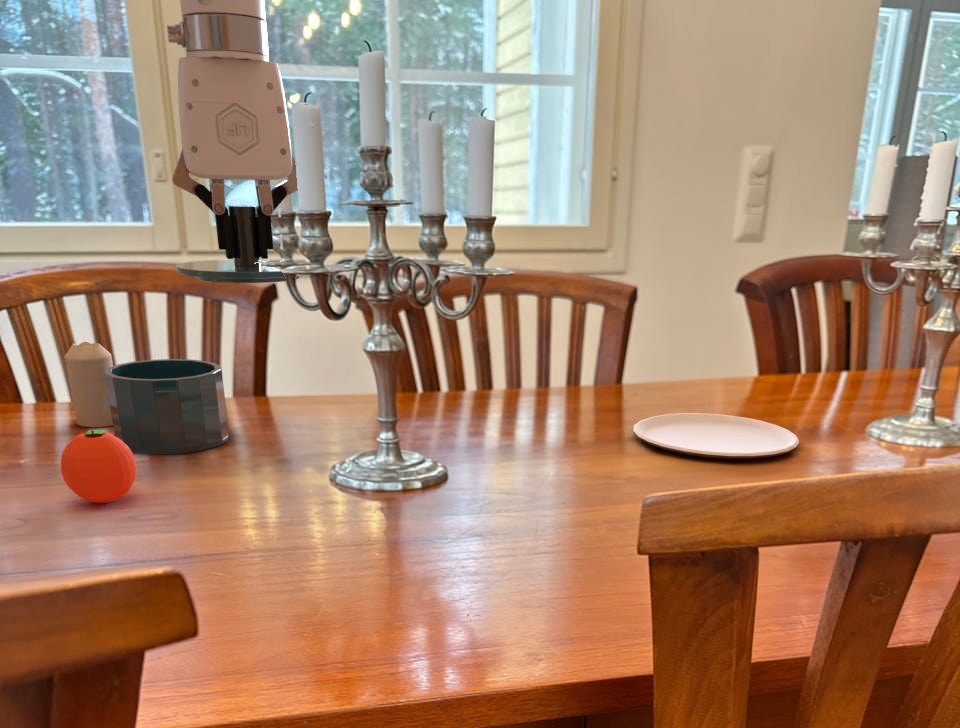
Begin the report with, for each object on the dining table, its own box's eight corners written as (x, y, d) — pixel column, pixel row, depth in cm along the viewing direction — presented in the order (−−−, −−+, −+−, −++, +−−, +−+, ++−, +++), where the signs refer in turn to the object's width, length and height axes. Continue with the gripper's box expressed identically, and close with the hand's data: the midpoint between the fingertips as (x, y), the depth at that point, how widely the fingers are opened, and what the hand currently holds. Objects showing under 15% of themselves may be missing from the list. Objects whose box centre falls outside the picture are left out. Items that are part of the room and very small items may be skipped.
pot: (114, 464, 101) (101, 387, 97) (118, 424, 116) (107, 357, 112) (234, 456, 104) (226, 382, 101) (223, 419, 120) (216, 353, 116)
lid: (179, 286, 85) (169, 208, 82) (175, 271, 97) (166, 203, 94) (328, 284, 89) (324, 209, 86) (306, 270, 101) (302, 204, 98)
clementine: (74, 489, 93) (61, 420, 89) (145, 485, 94) (134, 418, 91) (62, 514, 86) (47, 441, 82) (138, 510, 87) (127, 438, 84)
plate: (669, 467, 104) (670, 457, 103) (609, 423, 122) (610, 414, 121) (830, 460, 108) (832, 450, 107) (750, 419, 126) (751, 410, 125)
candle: (77, 429, 114) (62, 347, 109) (76, 419, 118) (61, 340, 114) (123, 425, 116) (110, 345, 111) (120, 416, 120) (107, 338, 116)
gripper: (134, 33, 78) (164, 261, 86) (320, 44, 82) (331, 260, 91) (135, 43, 84) (163, 255, 93) (307, 53, 89) (319, 254, 97)
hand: (246, 256), depth 92 cm, fingers closed on lid, 2 cm apart
